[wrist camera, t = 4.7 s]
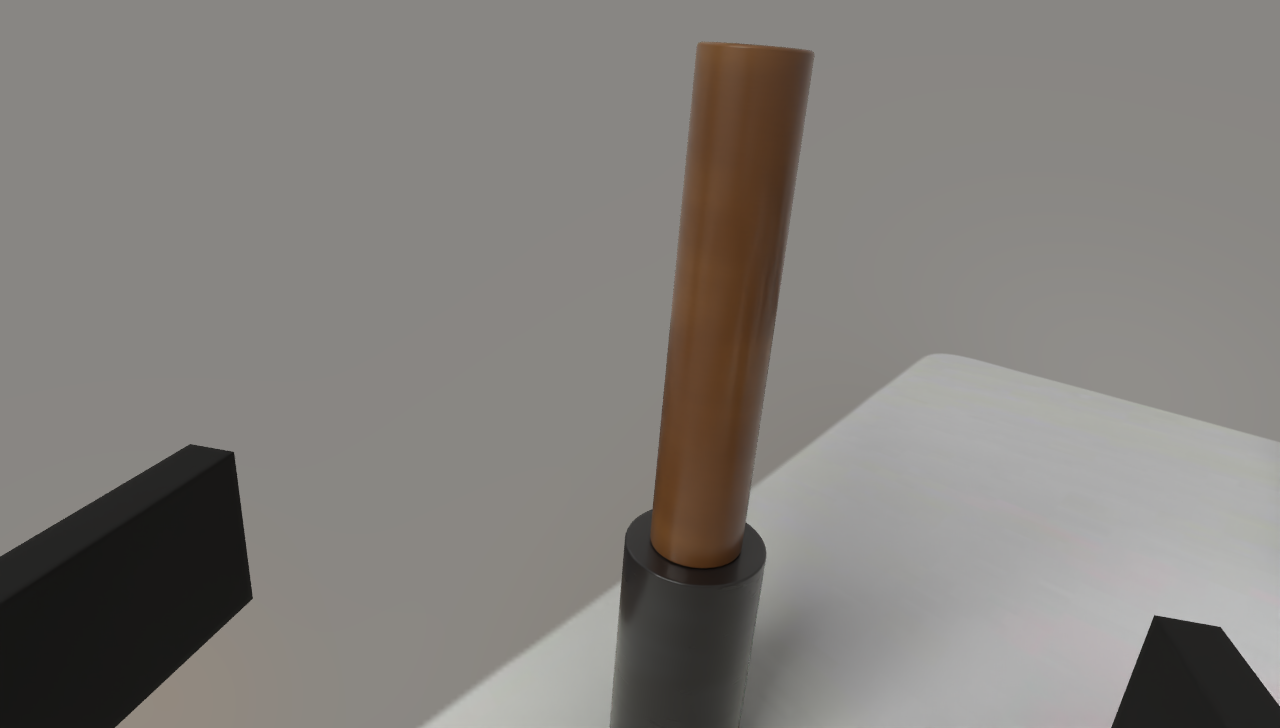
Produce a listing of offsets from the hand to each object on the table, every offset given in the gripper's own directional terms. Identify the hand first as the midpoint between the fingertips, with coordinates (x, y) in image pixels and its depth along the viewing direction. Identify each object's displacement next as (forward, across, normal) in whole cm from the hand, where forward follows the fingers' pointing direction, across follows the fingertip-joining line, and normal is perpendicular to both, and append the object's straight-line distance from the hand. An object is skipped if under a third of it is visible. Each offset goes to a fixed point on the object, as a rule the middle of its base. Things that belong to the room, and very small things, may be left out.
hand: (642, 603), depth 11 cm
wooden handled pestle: (+10, 0, -12) cm, 16 cm away
